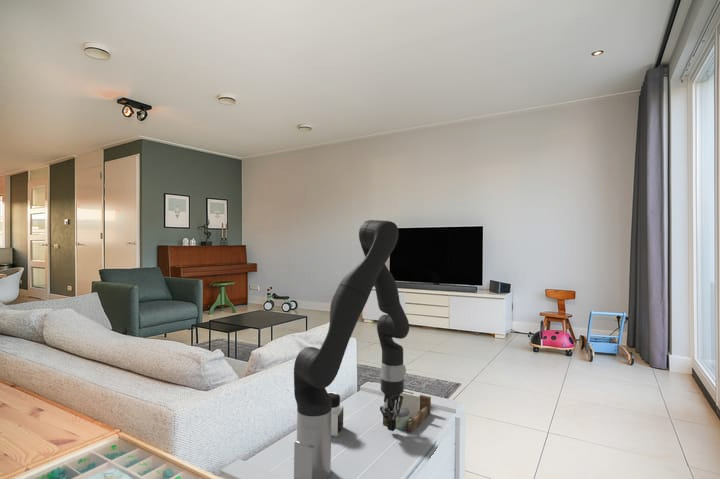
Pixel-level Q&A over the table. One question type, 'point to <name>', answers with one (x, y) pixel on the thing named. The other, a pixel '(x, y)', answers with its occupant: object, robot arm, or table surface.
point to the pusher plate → (411, 403)
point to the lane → (419, 417)
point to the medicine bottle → (336, 414)
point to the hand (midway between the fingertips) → (391, 429)
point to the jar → (402, 419)
